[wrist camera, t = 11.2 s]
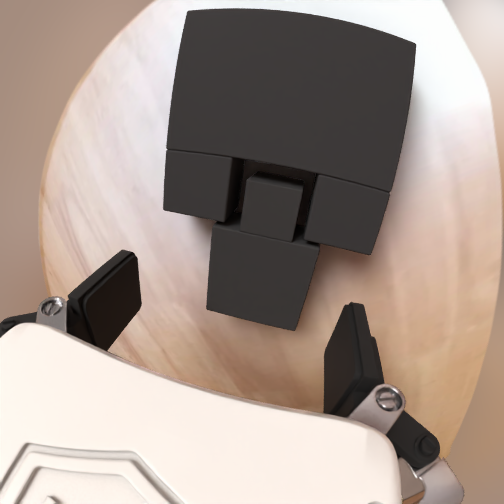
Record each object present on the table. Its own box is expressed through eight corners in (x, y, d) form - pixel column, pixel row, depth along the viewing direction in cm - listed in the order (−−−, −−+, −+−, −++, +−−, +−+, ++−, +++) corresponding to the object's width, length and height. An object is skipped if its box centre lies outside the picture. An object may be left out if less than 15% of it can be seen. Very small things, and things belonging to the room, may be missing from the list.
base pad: (183, 197, 15) (162, 210, 13) (206, 25, 10) (186, 10, 8) (362, 235, 14) (371, 256, 12) (400, 55, 9) (416, 43, 7)
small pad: (298, 304, 16) (294, 331, 14) (219, 286, 17) (205, 309, 15) (329, 186, 13) (333, 198, 11) (232, 166, 14) (217, 174, 11)
